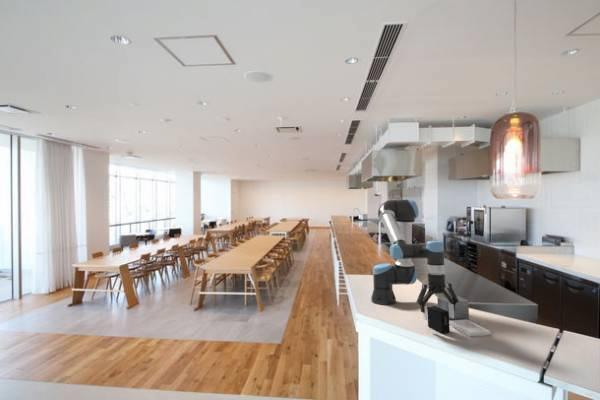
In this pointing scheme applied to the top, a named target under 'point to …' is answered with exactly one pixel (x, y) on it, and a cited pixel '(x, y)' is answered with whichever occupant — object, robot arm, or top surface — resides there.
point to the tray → (469, 328)
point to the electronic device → (438, 319)
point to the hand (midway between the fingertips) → (438, 318)
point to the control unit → (456, 308)
